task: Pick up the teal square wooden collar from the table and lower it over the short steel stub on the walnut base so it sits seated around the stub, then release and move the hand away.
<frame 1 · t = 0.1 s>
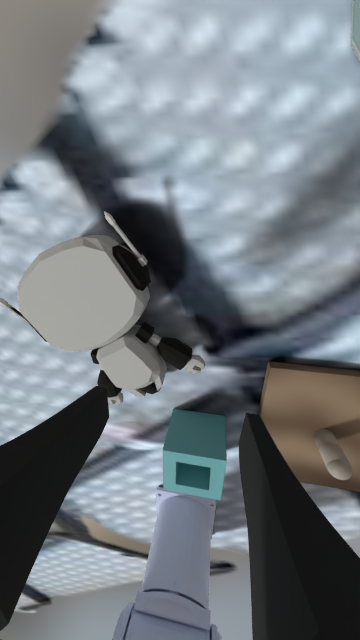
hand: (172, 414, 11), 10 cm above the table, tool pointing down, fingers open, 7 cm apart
stub base: (319, 427, 22), on the table
robot toy: (122, 317, 22), on the table
collar: (197, 431, 25), on the table
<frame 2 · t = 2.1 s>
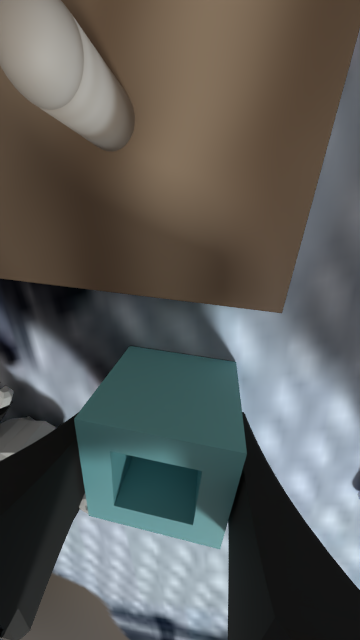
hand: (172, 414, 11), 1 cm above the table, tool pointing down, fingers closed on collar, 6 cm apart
stub base: (121, 130, 8), on the table
robot toy: (11, 441, 18), on the table
collar: (177, 395, 13), on the table, touching gripper
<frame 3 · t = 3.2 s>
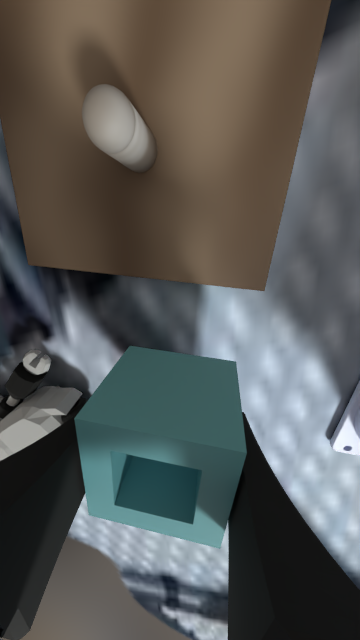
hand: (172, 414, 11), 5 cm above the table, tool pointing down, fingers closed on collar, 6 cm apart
stub base: (145, 156, 11), on the table
robot toy: (39, 410, 21), on the table
collar: (177, 395, 13), point 3 cm above the table, touching gripper
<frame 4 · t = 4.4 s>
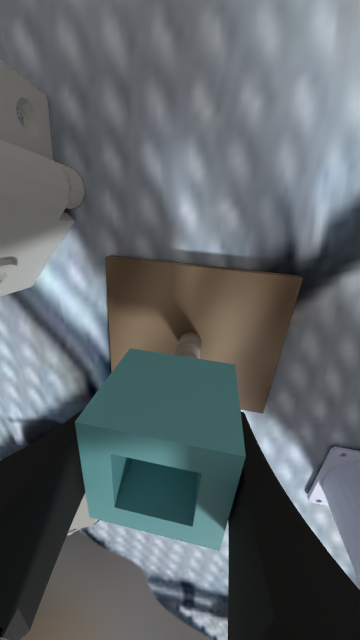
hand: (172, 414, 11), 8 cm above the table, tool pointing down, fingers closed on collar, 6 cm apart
stub base: (192, 336, 19), on the table
robot toy: (98, 461, 28), on the table
collar: (177, 397, 13), point 7 cm above the table, touching gripper
hinge: (38, 207, 17), on the table
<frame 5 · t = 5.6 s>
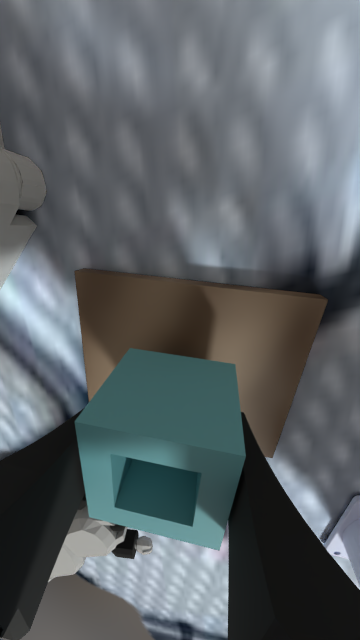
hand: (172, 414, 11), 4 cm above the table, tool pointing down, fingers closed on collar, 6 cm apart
stub base: (185, 365, 15), on the table
robot toy: (82, 497, 25), on the table
collar: (177, 397, 13), point 3 cm above the table, touching gripper
when the fingers open (4 cm above the table, at t = 6.7 s): collar drops 1 cm, resting on stub base.
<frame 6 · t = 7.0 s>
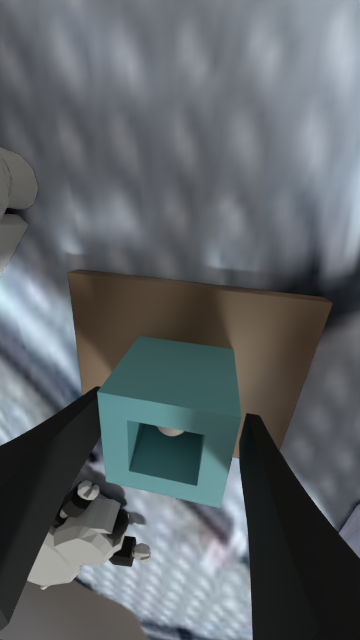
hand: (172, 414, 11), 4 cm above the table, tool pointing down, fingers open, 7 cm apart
stub base: (184, 370, 15), on the table
robot toy: (78, 503, 24), on the table
collar: (181, 381, 14), point 1 cm above the table, touching stub base
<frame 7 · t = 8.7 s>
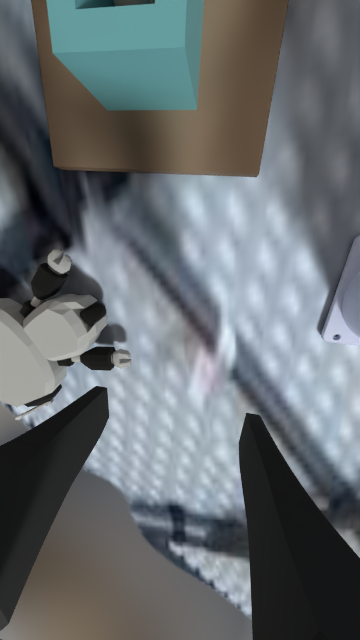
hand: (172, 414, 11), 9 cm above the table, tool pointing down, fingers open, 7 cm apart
stub base: (155, 55, 13), on the table
robot toy: (56, 328, 23), on the table
collar: (151, 45, 12), point 1 cm above the table, touching stub base
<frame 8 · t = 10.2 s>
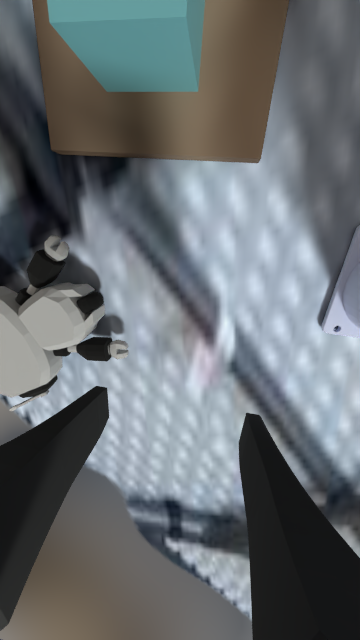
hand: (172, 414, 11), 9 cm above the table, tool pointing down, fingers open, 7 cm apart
stub base: (156, 34, 13), on the table
robot toy: (52, 319, 22), on the table
collar: (152, 23, 12), point 1 cm above the table, touching stub base
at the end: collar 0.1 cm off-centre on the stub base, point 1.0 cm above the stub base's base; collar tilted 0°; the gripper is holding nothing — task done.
